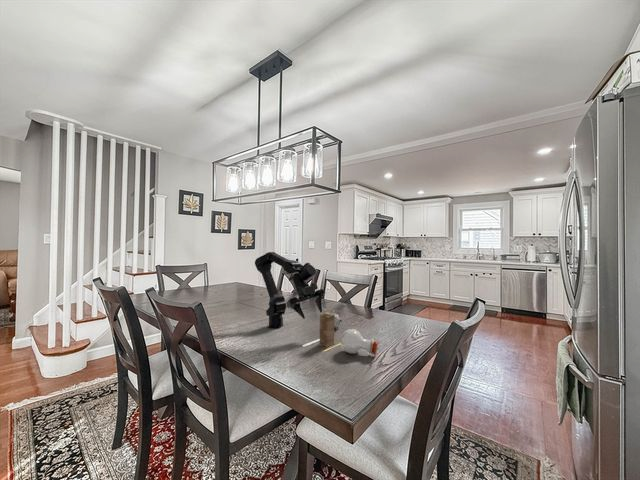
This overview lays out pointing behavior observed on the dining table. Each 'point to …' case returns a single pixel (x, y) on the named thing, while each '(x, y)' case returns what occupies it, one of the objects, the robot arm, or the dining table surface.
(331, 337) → the walnut block
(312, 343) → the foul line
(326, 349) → the strip
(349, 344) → the potion bottle
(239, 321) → the dining table surface
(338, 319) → the game die
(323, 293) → the robot arm
